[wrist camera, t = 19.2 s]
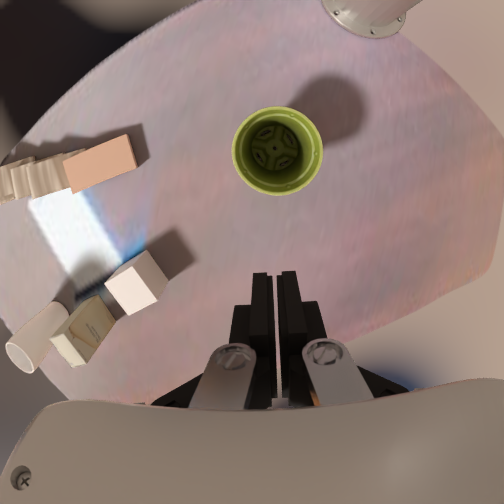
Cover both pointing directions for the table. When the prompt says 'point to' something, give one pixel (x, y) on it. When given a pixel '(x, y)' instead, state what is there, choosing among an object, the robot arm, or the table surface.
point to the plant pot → (298, 154)
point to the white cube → (137, 283)
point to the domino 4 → (100, 163)
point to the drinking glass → (36, 337)
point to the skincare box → (83, 331)
